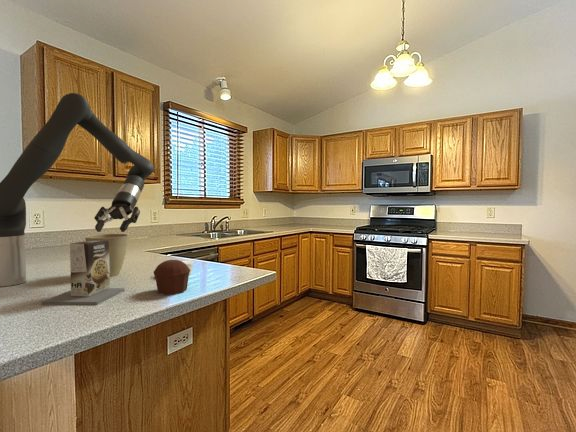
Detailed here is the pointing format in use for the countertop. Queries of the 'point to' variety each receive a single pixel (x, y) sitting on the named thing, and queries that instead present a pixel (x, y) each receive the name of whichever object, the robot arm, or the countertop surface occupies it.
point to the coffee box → (89, 267)
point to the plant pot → (114, 250)
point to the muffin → (171, 277)
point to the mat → (82, 298)
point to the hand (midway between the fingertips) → (109, 230)
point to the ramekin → (188, 264)
